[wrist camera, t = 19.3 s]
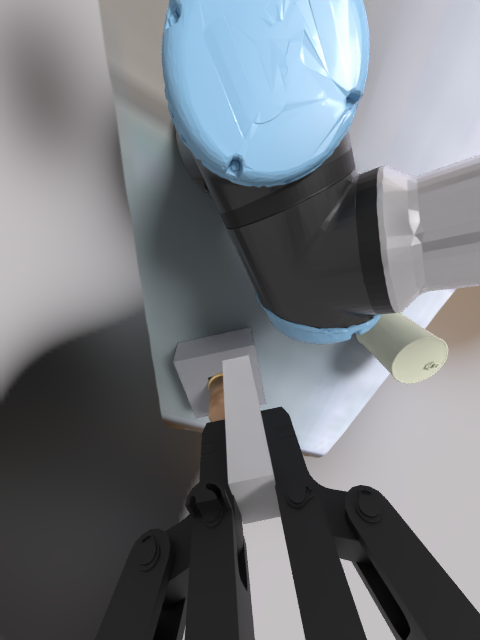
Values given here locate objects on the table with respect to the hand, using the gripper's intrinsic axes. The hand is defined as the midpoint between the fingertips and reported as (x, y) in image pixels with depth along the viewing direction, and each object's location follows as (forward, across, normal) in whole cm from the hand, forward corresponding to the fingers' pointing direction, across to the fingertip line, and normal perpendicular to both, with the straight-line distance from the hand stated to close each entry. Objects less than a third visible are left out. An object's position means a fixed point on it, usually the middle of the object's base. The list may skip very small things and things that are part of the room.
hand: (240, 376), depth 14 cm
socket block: (+29, -5, -21) cm, 36 cm away
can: (+30, +27, -20) cm, 45 cm away
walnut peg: (+29, -5, -21) cm, 36 cm away
